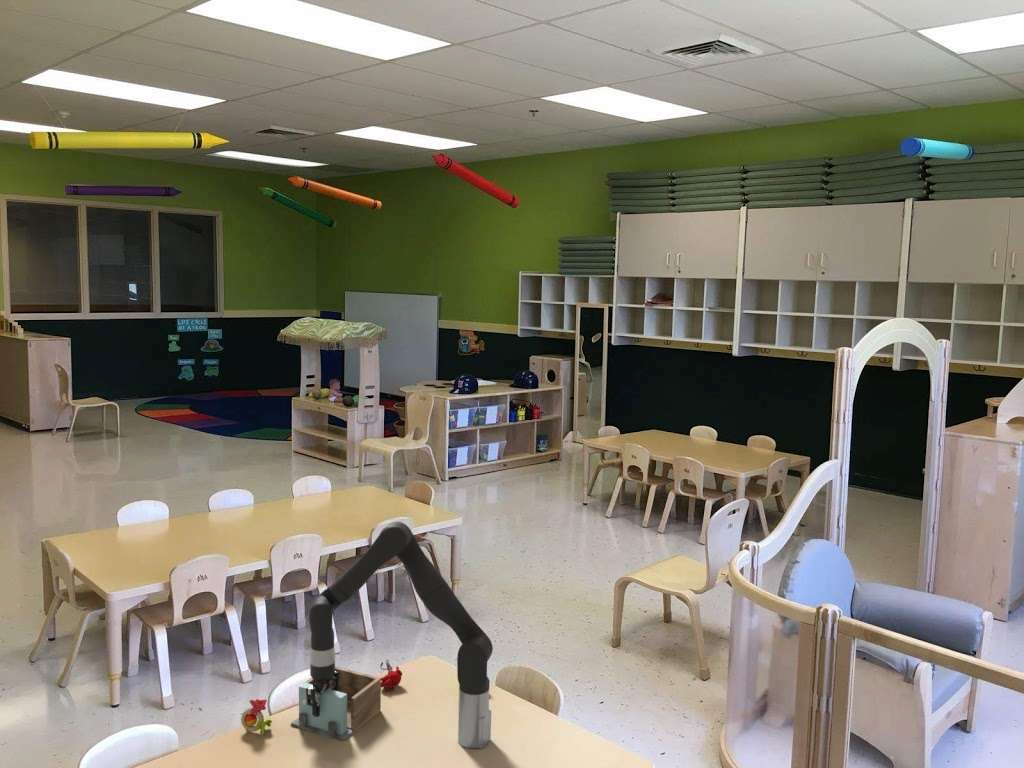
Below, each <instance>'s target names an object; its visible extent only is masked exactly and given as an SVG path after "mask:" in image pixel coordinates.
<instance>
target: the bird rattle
mask: <svg viewBox="0 0 1024 768" xmlns="http://www.w3.org/2000/svg"><path fill="white" fill-rule="evenodd" d="M249 703H250V705H251V706H252V707H248V708H246V709H245V710H244V711H243V712H242V714H241V716H240V722H241V724H242V727H243V728H244V729H245V733H250V732H252V733H253V732H257V731H259V730H260V731H259V732H260V733H259V734H260V736H262V737H263V736H264V734H265V730H266V729H265V727H266V726H267V727H269V728H270V727H272V723H273V720H271V719H267V720H265V717H264V714H263V712H262V711H265V710H266V709H267V707H266V705H267V699H255V700H254V699H250V700H249Z"/></svg>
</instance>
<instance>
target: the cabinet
mask: <svg viewBox="0 0 1024 768" xmlns="http://www.w3.org/2000/svg"><path fill="white" fill-rule="evenodd" d="M335 671H336V672H339V679H338V690H337V691H338V692H342V693H346V694H347V731H346V732H344V733H343V734H342V735H340V734H336V723H335V722H332V721H329V722H328V731H326V730H323V729H319V728H316V727H313V726H309V725H307V714H304V713H300V714H299V713H298V717H297V718H296V719H294V720H293V721H292V722H290V726H291V725H292V726H291V727H294V726H296V727H295V728H297V727H299V728H298V729H301V728H302V730H304V729H306V730H305V731H307V730H308V731H307V732H311V731H312V733H314V732H315V733H314V734H318V735H321V734H322V736H325V737H329V738H332V739H335V740H339V741H341V742H345V741H346V740H348V739H349V737H351V736H353V734H355V733H356V732H357V731H358V730H359V729H360V728H362V727H363V726H365V724H367V721H368V720H369V721H370V720H371V719H372V718H373V716H374V715H375V716H376V715H377V714H378V713H380V712H381V711H380V710H381V708H382V700H381V699H382V693H381V692H382V687H381V682H382V681H381V678H382V677H377V676H374V675H370V674H366V673H361V672H358V671H354V670H351V669H347V668H343V667H339V666H335ZM303 683H309V684H312V683H313V678H312V677H310V678H309V679H308V680H306V681H304V682H303ZM333 686H335V684H334V683H333ZM379 711H380V712H379ZM375 716H374V717H375ZM369 721H368V722H369ZM361 726H362V727H361Z"/></svg>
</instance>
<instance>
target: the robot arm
mask: <svg viewBox="0 0 1024 768" xmlns="http://www.w3.org/2000/svg"><path fill="white" fill-rule="evenodd" d="M394 557H397V558H398V559H399V561H400V562H401V564H402V565H403V566H404V568H405V569H406V571H407V573H408V575H409V577H410V578H409V579H410V580H411V584H412V585H413V588H414V590H415V593H416V594H417V596H418V598H419V599H420V600H421V602H422V603H423V604H424V607H425V608H426V609H427V610H428V611H429V612H430V614H431V615H433V617H436V618H437V619H438V620H440V621H441V622H443V623H444V624H446V625H447V626H449V627H450V628H451V630H452V631H453V632H454V633H455V635H456V636H457V637H458V639H459V641H460V643H461V645H460V646H459V649H458V651H457V658H456V660H457V661H456V666H457V668H456V670H457V672H456V673H457V681H458V684H459V685H458V723H457V724H458V727H457V729H458V733H457V736H458V737H457V740H458V742H457V743H458V744H459V745H460V746H462V747H464V748H467V749H484V747H485V746H487V744H488V743H489V741H491V739H492V738H491V737H492V710H490V678H489V676H488V661H489V660H490V658H491V656H492V655H493V651H494V647H493V643H492V641H491V639H490V638H489V636H488V635H487V633H486V632H485V631H484V630H483V629H482V628H481V627H480V626H479V624H478V623H477V622H476V621H475V620H474V619H473V618H472V616H471V615H470V614H469V612H468V611H467V609H466V608H465V607H464V606H463V604H462V603H461V601H460V600H459V599H458V597H457V596H456V594H455V593H454V591H453V590H452V588H451V587H450V586H449V584H448V583H447V581H446V580H445V578H444V577H443V576H442V575H441V573H440V572H439V571H438V569H437V568H436V567H435V565H434V564H433V563H432V562H431V561H430V559H429V558H428V557H427V556H426V553H425V552H424V551H423V550H422V548H421V546H420V544H419V543H418V541H417V539H416V537H415V535H414V533H413V532H412V530H411V528H410V527H409V526H408V525H407V524H405V523H403V522H402V521H393V522H390V523H389V524H387V525H386V526H385V527H383V528H382V530H381V531H380V532H379V535H377V537H376V539H375V540H374V542H373V543H372V544H371V545H370V547H369V548H368V549H367V550H366V551H365V553H364V554H363V555H362V556H361V557H360V558H358V560H356V561H355V562H354V563H353V564H352V565H350V566H349V567H348V568H347V569H346V570H345V571H344V572H343V573H341V575H340V576H339V577H338V578H337V579H336V580H335V581H334V582H333V583H331V585H329V586H328V587H326V589H324V590H323V591H322V592H320V594H318V595H317V596H316V598H315V599H314V600H313V601H312V604H311V607H310V610H309V615H308V617H309V629H310V654H309V664H310V665H309V669H310V670H309V671H310V678H313V683H312V686H311V687H310V688H308V687H307V688H306V697H307V705H309V706H312V715H313V716H315V717H319V716H320V705H319V704H320V701H321V698H323V694H324V691H326V690H327V689H331V690H335V691H337V690H338V679H339V672H336V671H335V667H336V651H335V631H334V629H333V615H334V612H335V611H337V608H338V607H340V606H341V605H342V604H343V603H346V602H348V600H350V599H351V598H352V597H353V596H354V595H355V594H357V592H358V591H360V590H361V588H362V587H363V586H364V585H365V584H366V583H367V582H368V581H369V580H370V578H371V577H372V576H373V575H374V574H375V573H376V572H377V571H378V570H379V569H380V568H381V567H383V566H384V565H385V564H387V562H388V561H390V560H391V559H393V558H394ZM333 683H334V684H335V686H333ZM316 692H317V693H320V695H317V694H316ZM316 697H317V698H318V699H317V701H316Z"/></svg>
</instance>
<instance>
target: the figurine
mask: <svg viewBox="0 0 1024 768" xmlns="http://www.w3.org/2000/svg"><path fill="white" fill-rule="evenodd" d="M385 663H386V664H385V665H386V668H382V667H383V666H384V662H383V661H381V663H380V669H381V670H382V671H383V670H384V671H385V670H387V674H385V675H384V676H383V677H380V678H381V688H385V689H386V692H389V691H390V690H391V689H392V687H397V686H398V685H400V683H401V681H402V676H403V672H402V671H401V670H400V668H399V666H396V667H395V670H393V667H392V666H391V664H390V662H389V659H386V660H385Z"/></svg>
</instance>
